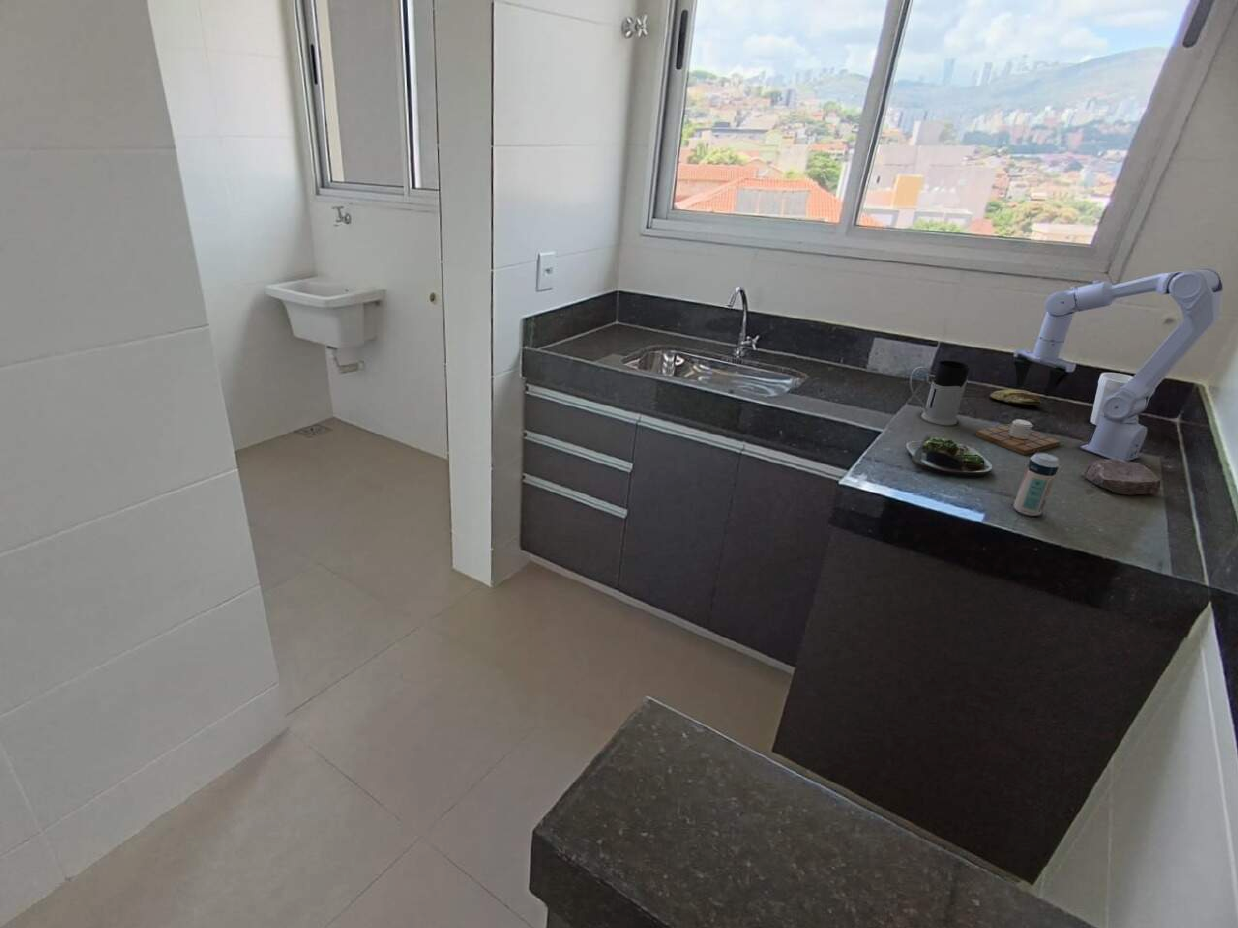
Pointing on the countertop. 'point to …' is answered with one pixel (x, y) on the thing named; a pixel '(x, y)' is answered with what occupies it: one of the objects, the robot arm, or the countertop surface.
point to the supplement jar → (1036, 484)
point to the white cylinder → (1020, 429)
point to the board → (1018, 440)
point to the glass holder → (944, 392)
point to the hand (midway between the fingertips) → (1033, 390)
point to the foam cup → (1106, 391)
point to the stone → (1123, 477)
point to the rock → (1016, 397)
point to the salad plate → (948, 458)
